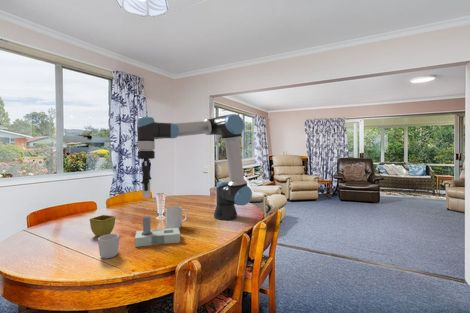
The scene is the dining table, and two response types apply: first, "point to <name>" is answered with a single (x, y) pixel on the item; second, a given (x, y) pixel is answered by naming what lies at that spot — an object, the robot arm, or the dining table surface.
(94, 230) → the flower pot
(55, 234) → the dining table surface
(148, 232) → the peg
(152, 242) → the hole block
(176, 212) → the mug
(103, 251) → the cup
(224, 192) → the robot arm
